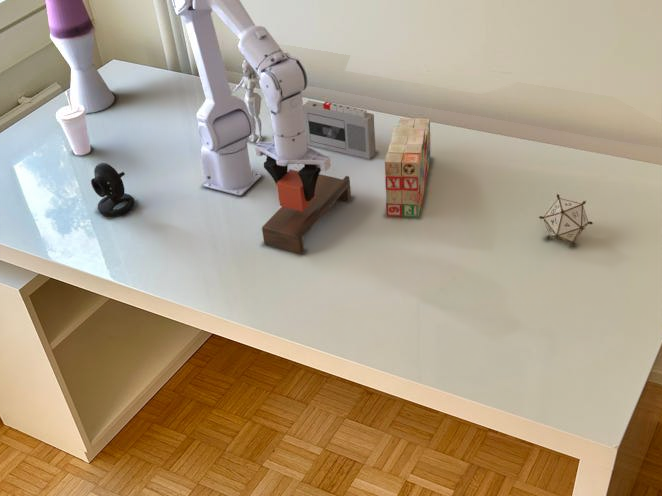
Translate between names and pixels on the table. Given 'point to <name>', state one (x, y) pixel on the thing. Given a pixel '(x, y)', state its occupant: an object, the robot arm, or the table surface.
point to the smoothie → (75, 126)
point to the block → (292, 191)
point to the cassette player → (340, 128)
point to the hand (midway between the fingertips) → (297, 195)
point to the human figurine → (251, 96)
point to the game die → (566, 220)
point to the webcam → (110, 191)
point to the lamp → (78, 53)
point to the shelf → (304, 215)
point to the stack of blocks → (407, 167)
